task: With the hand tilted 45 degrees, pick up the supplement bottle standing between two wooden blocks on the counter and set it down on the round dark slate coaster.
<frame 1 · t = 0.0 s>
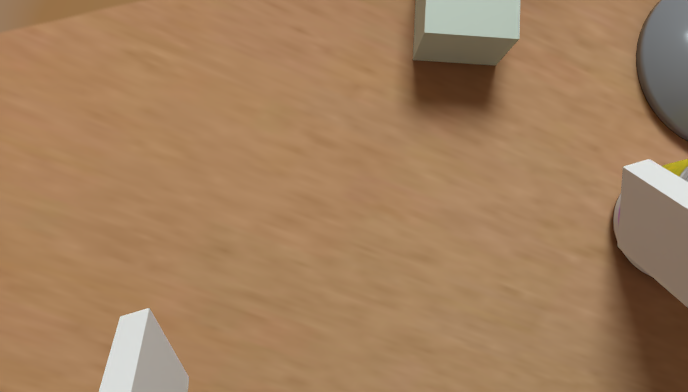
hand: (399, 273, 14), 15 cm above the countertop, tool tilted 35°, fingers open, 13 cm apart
supplement bottle: (661, 223, 30), on the countertop
grey-green painted block: (455, 23, 31), on the countertop
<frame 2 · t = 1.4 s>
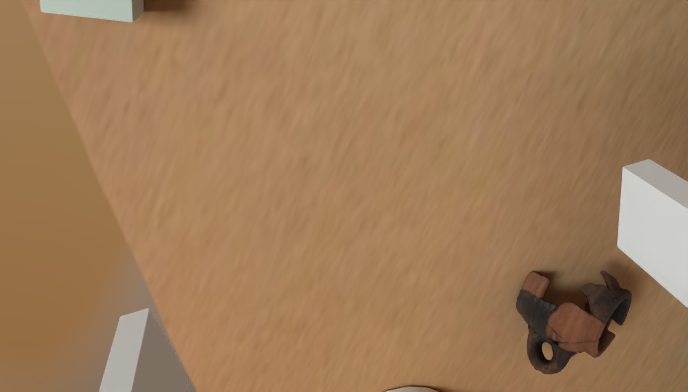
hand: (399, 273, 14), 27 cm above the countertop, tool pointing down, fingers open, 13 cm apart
grey brown irregular piece: (551, 297, 54), on the countertop
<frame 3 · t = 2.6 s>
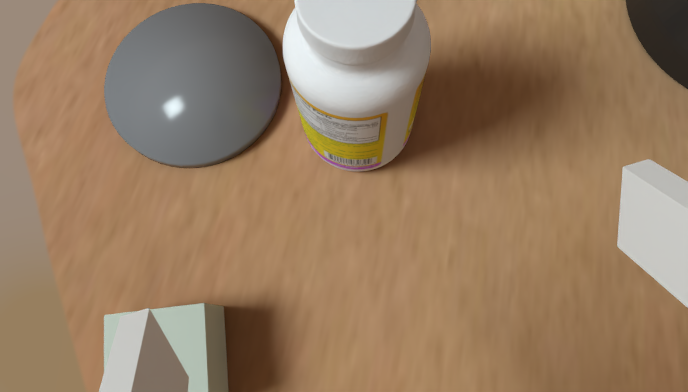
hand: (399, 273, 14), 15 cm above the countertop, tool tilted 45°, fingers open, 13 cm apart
slate coaster: (195, 86, 33), on the countertop
supplement bottle: (357, 125, 32), on the countertop
grey-green painted block: (182, 357, 29), on the countertop
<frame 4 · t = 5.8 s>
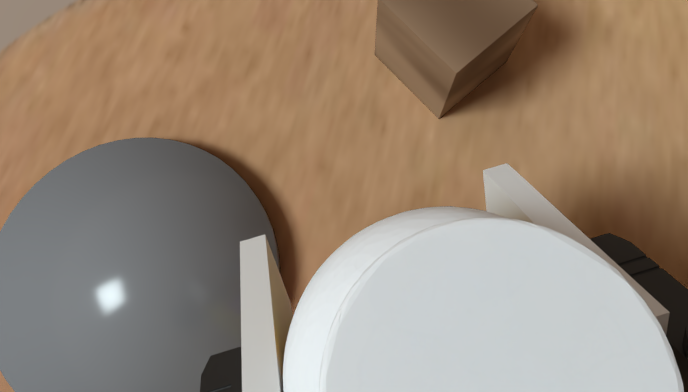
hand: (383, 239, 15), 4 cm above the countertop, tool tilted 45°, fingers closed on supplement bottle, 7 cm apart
walnut block: (439, 58, 22), on the countertop
slate coaster: (139, 278, 20), on the countertop
supplement bottle: (406, 350, 19), on the countertop, touching gripper
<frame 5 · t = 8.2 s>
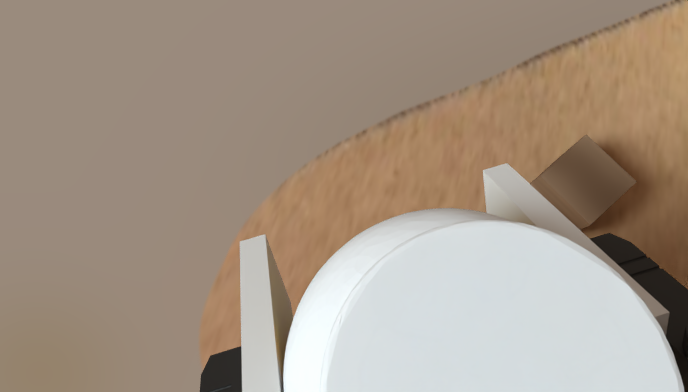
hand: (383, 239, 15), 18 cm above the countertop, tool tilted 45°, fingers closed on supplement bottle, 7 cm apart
walnut block: (562, 195, 34), on the countertop
supplement bottle: (406, 351, 19), point 14 cm above the countertop, touching gripper
when the fingers open (7 cm above the countertop, at t = 10.6 s): supplement bottle drops 1 cm, resting on slate coaster.
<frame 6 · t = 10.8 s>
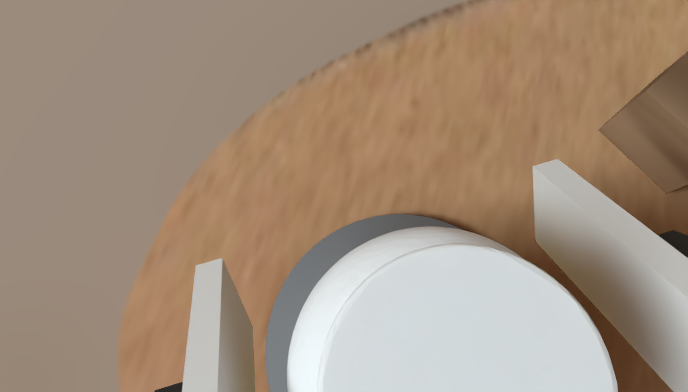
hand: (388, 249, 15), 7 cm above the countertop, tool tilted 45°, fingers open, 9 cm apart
walnut block: (660, 134, 23), on the countertop
slate coaster: (401, 348, 21), on the countertop
supplement bottle: (400, 352, 20), point 1 cm above the countertop, touching slate coaster
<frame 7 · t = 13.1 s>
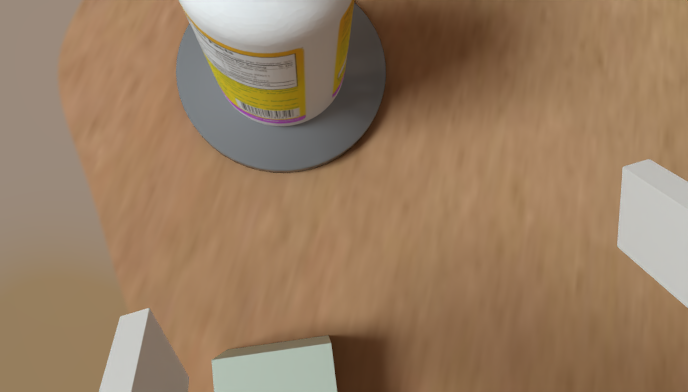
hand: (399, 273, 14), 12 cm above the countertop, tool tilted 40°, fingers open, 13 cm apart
slate coaster: (283, 74, 28), on the countertop
supplement bottle: (281, 71, 27), point 1 cm above the countertop, touching slate coaster
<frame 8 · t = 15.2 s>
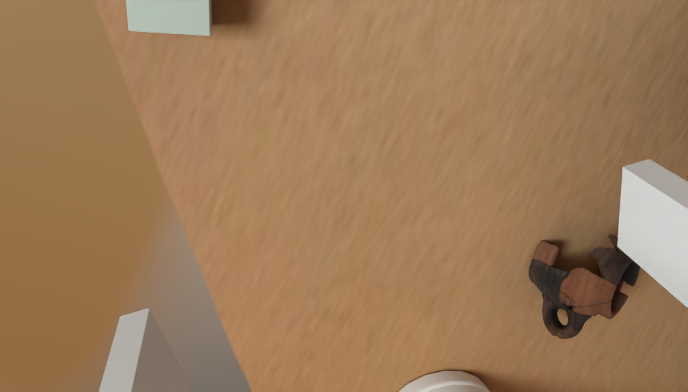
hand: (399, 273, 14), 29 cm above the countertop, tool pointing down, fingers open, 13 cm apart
grey brown irregular piece: (562, 264, 55), on the countertop
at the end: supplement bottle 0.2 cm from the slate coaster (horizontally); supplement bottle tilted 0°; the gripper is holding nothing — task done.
